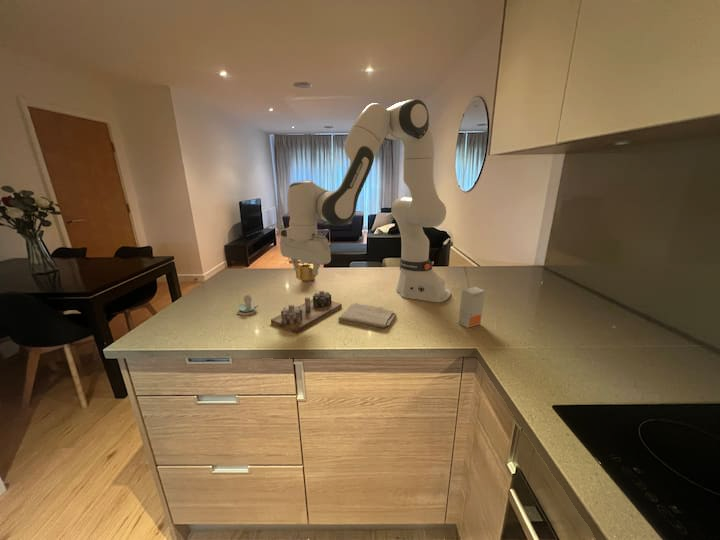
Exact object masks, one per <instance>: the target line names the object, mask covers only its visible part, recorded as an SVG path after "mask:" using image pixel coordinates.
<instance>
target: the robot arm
mask: <svg viewBox="0 0 720 540" xmlns="http://www.w3.org/2000/svg"><path fill="white" fill-rule="evenodd" d="M429 121H430V116H429V111H428V107H427V105H426V103H424V101H422V100H420V99H417V98H414V99H413V98H412V99H408V100H405V101H402V102H401V101H400V102H397V103H395V104H394V105H391V106H390V107H387V108H386V107H385V106H383V105H382V104H381V103H378V102H377V103H375V102H374V103H373V102H372V103H370V104H368V105H367V106H366V107H365V108H364V109H363V110H362V112H361V113H360V114H359V116H358V117H357V118H356V120H355V122H354V123H353V125H352V127H351V129H350V130H349V132H348V134H347V137H346V139H345V141H344V142H345V143H344V145H343V146H344V147H343V148H344V151H345V152H344V153H345V154H346V156H347V158H348V159H349V166H348V168H347V171H346V173H345V175H344V177H343V179H342V182H341V184H340V186H339V187H338V188H337V189H336V190H335V191H330V190H327V189H326V188H324V187H321V186H319V185H317V184H316V183H314V182H313V181H312V180H308V179H306V180H299V181H295V182H293V183H290V185H289V187H288V190H287V209H288V213H289V222H288V225H289V227H286V228H282V229H280V230H279V231H278V232H279V233H278V235H279V237H280V239H279V247H280V249H279V250H280V253H281V255H282V257H284V258H289V259H290V262H291V263H292V266H293V270H294V272H296V266H298V264H299V262H298V261H301V260H302V261H307V262H311V263H313V266H314V269H313V270H311V275H314V276H316V277H317V276H318V275H319V269H320V267H321V265H322V266H325V265H327V264H329V263H330V262H331V260H332V257H331V256H332V255H331V249H330V243H329V239H328V238H327V237H326V236H325V235H323V234H318V224H317V223H318V221H319V220H323V221H325V222H327V223H329V224H331V225H332V226H336V227H344V226H346V225H347V224H349V223H350V222H352V220H353V218H355V215H356V212H357V211H356V210H357V203H358V199H359V197H360V194H361V192H362V190H363V187H364V185H365V183H366V181H367V179H368V177H369V174H370V172H371V170H372V167H373V163H374V159H375V158H376V155H377V153H378V151H379V150H380V147H381V145H382V144H383V142H384V140H385V141H395V140H396V141H397V140H401V142H402V144H403V164H402V166H403V177H402V178H403V183H404V184H405V185H406V187H407V188H408V191H409V193H410V196H409V195H407V196H401V197H400V198H399V197H398V198H397V199H395V200H394V201H393V203H392V204H391V215H392V217H393V219H394V220H395V221H396V224H397V226H398V230H399V233H400V238H401V257H400V258H399V260H400V261H399V271H400V272H399V278H398V283H397V286H396V289H395V290H396V292H397V293H398V294H400V296H401V298H405V299H412V300H417V301H418V300H419V301H424V302H431V303H438V304H439V303H444V302H445V301H447V300H448V299H449V298H450V297H451V295H452V293H451V290H450V289H447V288H446V282H445V279H444V278H443V277H442V276H441V275H440V274H439V273H438V272H437V271H435V269H433V265H434V262H435V261H431V259H429V255H430V254H429V253H430V239H429V238H428V236H427V235H426V234H425V231H424V229H423V228H435V227H439V226H441V225H442V224H443V223H444V221H445V220H446V217H447V208H446V205H445V203H444V202H443V201H442V200H441V198H440V197H439V195H438V193H437V190H436V186H435V181H434V159H435V158H434V155H435V154H434V152H435V151H434V139H433V132H432V130H431V129H430V128H429V126H430V122H429Z"/></svg>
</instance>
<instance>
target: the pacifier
mask: <svg viewBox="0 0 720 540" xmlns="http://www.w3.org/2000/svg"><path fill="white" fill-rule="evenodd" d="M252 300H253V299H252V297H251V295H249V294H246V295H244V297H243V302H244V303H240V304H238V305H237V306H238V308H237V309H239V310H237V315H241V316H250V315H253V314H255V313H256V311H255V309H257V308H258V307H259V305H258V304H257V305H253V306H252ZM245 312H247V313H245Z"/></svg>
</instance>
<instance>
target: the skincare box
mask: <svg viewBox="0 0 720 540" xmlns="http://www.w3.org/2000/svg"><path fill="white" fill-rule="evenodd" d="M485 295H486V290H484V289H482V288H479V287H477V286H474V287H468V288H464V289H462V290H461V296H460V305H459V315H458V321H457V322H458V324H460V325H461V326H463V327H465V328H467V329H469V328H471V327H475V326H479V325H481V322H482V315H483V309H484V301H485V297H486V296H485Z"/></svg>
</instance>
